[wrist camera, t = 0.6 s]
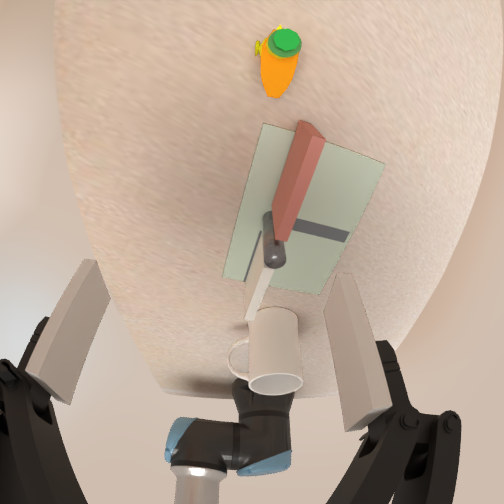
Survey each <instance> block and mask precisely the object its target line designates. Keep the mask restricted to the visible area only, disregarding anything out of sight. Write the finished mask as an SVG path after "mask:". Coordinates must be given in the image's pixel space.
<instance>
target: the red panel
mask: <svg viewBox="0 0 504 504" xmlns="http://www.w3.org/2000/svg"><path fill="white" fill-rule="evenodd" d="M325 142H326V139H325V138H324V137H323V136H322V135H321V134H320V133H319V132H318V131H317V130H316V129H315V128H314V127H313V126H312V125H311V124H310V123H307V122H304V121H301V120H299V123H298V126H297V129H296V132H295V135H294V138H293V141H292V144H291V147H290V150H289V153H288V156H287V159H286V163H285V166H284V169H283V172H282V175H281V178H280V181H279V184H278V187H277V190H276V193H275V196H274V199H273V202H272V205H271V206H272V215H273V224H274V233H275V239H276V240H280V241H285V242H287V241H288V238H289V236H290V233H291V231H292V228H293V226H294V223H295V221H296V218H297V216H298V213H299V211H300V208H301V205H302V203H303V200H304V198H305V195H306V192H307V190H308V187H309V185H310V182H311V179H312V177H313V174H314V171H315V169H316V166H317V163H318V161H319V158H320V155H321V153H322V150H323V147H324V144H325Z"/></svg>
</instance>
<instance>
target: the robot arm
mask: <svg viewBox="0 0 504 504" xmlns="http://www.w3.org/2000/svg"><path fill="white" fill-rule="evenodd" d="M110 299H111V298H110V295H109V293H108V290H107V288H106V285H105V283H104V280H103V277H102V275H101V272H100V269H99V266H98V263H97V260H89V259H84V261H83V262H82V264H81V265H80V267H79V268H78V270H77V272H76V273H75V275H74V276H73V278H72V279H71V281H70V283H69V284H68V286H67V288H66V290H65V291H64V293H63V295H62V296H61V298H60V300H59V302H58V303H57V305H56V307H55V309H54V311H53V313H52V314H51V316H50V317H44V319H43V320H42V321H41V322H40V323H39V324H38V325H37V327H36V329H35V331H34V335H32V337H31V339H30V342H29V344H28V345H27V348H26V350H25V352H24V354H23V357H22V358H21V361H20V363H19V365H18V367H17V368H16V367H15V366H14V365H13V364H12V363H11V362H10V361H9V360H7V359H1V360H0V504H88V503H87V501H86V499H85V497H84V495H83V492H82V490H81V488H80V486H79V483H78V481H77V479H76V476H75V474H74V471H73V469H72V466H71V464H70V461H69V458H68V455H67V453H66V450H65V447H64V444H63V440H62V437H61V434H60V431H59V428H58V424H57V420H56V416H55V412H54V408H53V404H52V402H51V401H50V397H51V396H53V397H54V398H55V399H56V400H57V401H60V402H62V403H65V404H68V405H70V404H71V401H72V398H73V394H74V391H75V388H76V385H77V382H78V379H79V376H80V373H81V370H82V368H83V365H84V362H85V360H86V357H87V354H88V351H89V349H90V346H91V344H92V341H93V339H94V336H95V334H96V331H97V329H98V327H99V324H100V322H101V319H102V317H103V314H104V313H105V310H106V308H107V306H108V304H109V301H110ZM324 316H325V321H326V325H327V330H328V335H329V340H330V345H331V350H332V356H333V361H334V367H335V372H336V378H337V384H338V390H339V396H340V402H341V408H342V415H343V421H344V429H345V432H349V431H355V430H362V429H363V428H365V427H366V426H367V425H368V432H367V433H366V434H364V435H363V436H362V437H361V438H360V439H359V440H360V441H361V440H363V439H364V440H363V442H362V444H361V446H360V448H359V450H358V452H357V454H356V455H355V457H354V459H353V461H352V463H351V464H350V466H349V468H348V470H347V471H346V473H345V475H344V477H343V478H342V480H341V481H340V483H339V485H338V486H337V488H336V490H335V491H334V492H333V494H332V496H331V497H330V498H329V500H328V501H327V503H326V504H388V503H389V502H390V500H391V497H392V496H393V494H394V497H393V500H392V504H452V502H453V497H454V492H455V486H456V479H457V473H458V465H459V456H460V443H461V420H460V418H459V416H458V414H456V413H455V412H454V411H451V410H450V411H445V412H444V413H442V414H441V415H430V414H422V413H419V412H418V410H417V409H415V408H414V407H412V405H411V404H410V401H409V398H408V395H407V391H406V388H405V384H404V381H403V377H402V374H401V371H400V367H399V364H398V363H397V358H396V355H395V351H394V349H393V348H392V346H391V345H390V344H389V343H388V341H387V340H383V341H375V339H374V336H373V333H372V330H371V326H370V323H369V320H368V317H367V314H366V311H365V308H364V305H363V302H362V300H361V297H360V294H359V291H358V288H357V286H356V283H355V280H354V277H353V275H352V273H337V275H336V278H335V281H334V284H333V287H332V290H331V293H330V295H329V298H328V301H327V304H326V307H325V309H324ZM232 394H233V397H234V400H235V404H236V407H237V410H238V413H239V423H234V422H221V421H212V420H205V419H199V418H187V417H180V418H178V419H176V420H175V421H174V423H173V425H172V427H171V429H170V432H169V435H168V439H167V442H166V449H165V460H166V461H167V462H168V463H171V470H172V472H173V473H174V474H175V475H176V477H177V482H176V492H175V503H174V504H218V503H219V502H218V501H219V483H220V481H221V480H223V479H224V478H226V477H227V470H237V471H236V473H237V475H238V476H258V475H266V474H272V473H277V472H281V471H285V470H287V469H288V468H289V467H290V465H291V452H292V450H291V437H290V421H289V411H290V408H291V405H292V401H293V398H294V394H295V391H294V392H291V393H288V394H283V395H263V394H259V393H256V392H254V391H252V390H251V389H250V388H249V381H247V380H244V379H241V378H239V379H237V380H236V381H235V382H234V383H233V388H232ZM394 492H395V493H394Z"/></svg>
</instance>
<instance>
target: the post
mask: <svg viewBox="0 0 504 504" xmlns="http://www.w3.org/2000/svg"><path fill="white" fill-rule="evenodd" d="M262 223H263V246H264V263H265V265H266V266H267V267H269V268H272V269H278V268H281V267H283V266H284V265H285V263H286V252H285V245H284V241H280V240H276V239H275V233H274V224H273V215H272V211H268V212H266V213H265V214H264V215H263V217H262Z"/></svg>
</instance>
